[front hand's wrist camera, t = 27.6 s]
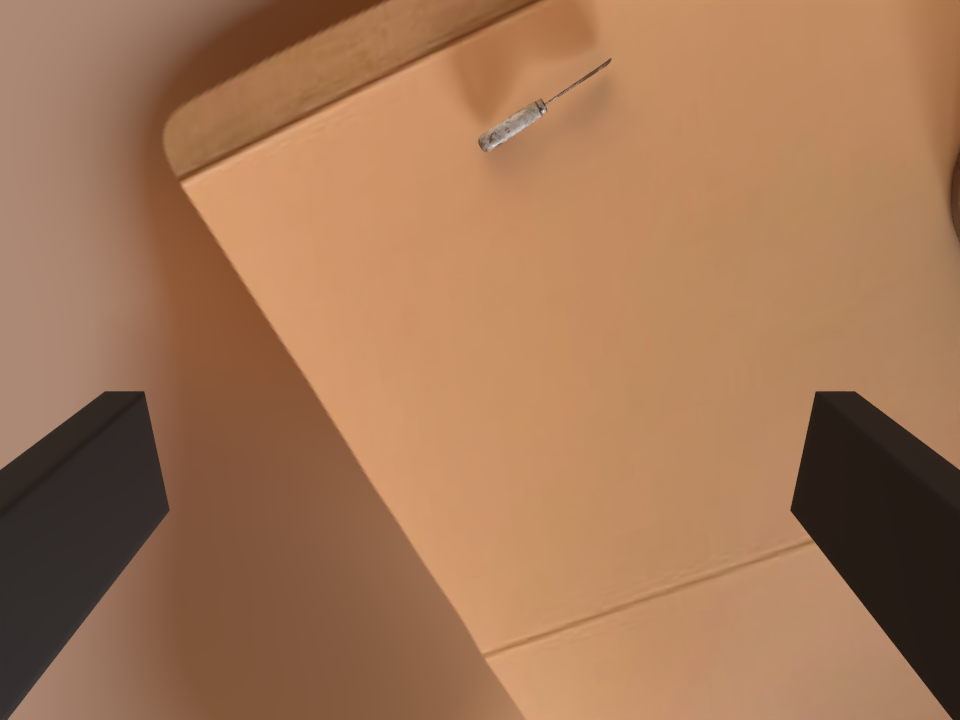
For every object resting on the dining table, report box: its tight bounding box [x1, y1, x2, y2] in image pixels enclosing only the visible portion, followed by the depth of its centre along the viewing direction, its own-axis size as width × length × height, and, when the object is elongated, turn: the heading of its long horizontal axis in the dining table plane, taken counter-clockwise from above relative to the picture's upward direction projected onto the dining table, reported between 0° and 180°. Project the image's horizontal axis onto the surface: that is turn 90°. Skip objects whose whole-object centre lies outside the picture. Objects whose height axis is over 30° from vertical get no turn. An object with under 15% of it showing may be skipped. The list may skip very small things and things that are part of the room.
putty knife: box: [478, 59, 611, 152], centre depth 34 cm, size 1×8×2 cm, turn 124°
